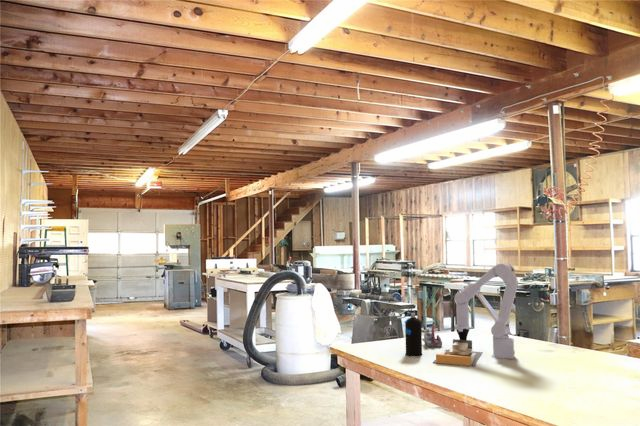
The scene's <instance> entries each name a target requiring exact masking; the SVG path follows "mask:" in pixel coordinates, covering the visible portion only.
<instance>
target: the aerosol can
mask: <svg viewBox="0 0 640 426" xmlns="http://www.w3.org/2000/svg"><path fill="white" fill-rule="evenodd" d="M422 323H423V322H422V321H421V320H420V319H419V318H417V317H416V312H411V313H410V317H408V318H407V319H406V320H405V321H404V324H405V330H404V331H405V356H407V357H412V356H414V357H421V356H424V355H423V347H422V346H423V343H422V342H423V340H422V339H423V338H422V337H423V335H422V332H423V331H422Z"/></svg>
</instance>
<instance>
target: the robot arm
mask: <svg viewBox="0 0 640 426" xmlns="http://www.w3.org/2000/svg"><path fill="white" fill-rule="evenodd" d="M493 278H500V279H501V280H502V281H503V282H504V284H505V288H504V292H503V295H502V299H501V304H500V307H499V312H498V315H497V318H496V320H495V322H494V324H493V325H492V326H491V328H490V330H491V335H492V343H493V344H492V353H493V354H492V355H491V358H496V359H497V358H499V359H509V360H513V359H514V357H515V355H516V353H515V352H516V351H515V342H514V341H515V340H514V338H510V335H509V333H510V329H511V328H510V321H511V320H510V316H511V313H512V309H513V305H514V301H515V296H516V294H517V290H518V285H519V281H518V278H517V275H516V269H515V268H514V267H513V265H511V264H510V263H508V262H504V263H498V264H496V265H495V266H493V267H492V268H490V269H489V270H488V271H487V272H485V273H484V274H483V275H482V276H481V277H480V278H479V279H478V280H477V281H471V282H468V283H467V285H466V287H464V288H461V289H460V291H459V292H456V293H455V295H454V298H453V299H454V301H455V303H456V304H455V305H456V307H455V309H456V310H455V311H456V324H454V327H455V328H457V329H456V333H457V335H458V338H459V340H468V334H469V332H470V325H469V324H470V323H469V322H470V321H469V302H470V299H472V298H473V297H475V296H476V295H477V294H478V293H479V292H481V287H483V286H484V285H485V284H487V283H488V282H489V281H491V280H492V279H493Z"/></svg>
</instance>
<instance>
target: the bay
mask: <svg viewBox="0 0 640 426" xmlns="http://www.w3.org/2000/svg"><path fill="white" fill-rule="evenodd" d="M447 349H448V348H447ZM447 349H445V350H442V352H441V353H436V354H435V360H433V362H432V364H438V363H439V364H441V365H449V364H452V365H451V366H460V365H463V367H471V366H472V367H473V368H474V367H476V365H477V363H478V361H479V359H480V358H481V357H482V354H483V353H484V352H483V351H473V350H472V351H471V353H470V354H469V355H468V356H465V355H459V354H453V355H450V354H449V351H450V350H451V349H448V350H447Z"/></svg>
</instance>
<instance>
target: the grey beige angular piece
mask: <svg viewBox="0 0 640 426" xmlns="http://www.w3.org/2000/svg"><path fill="white" fill-rule="evenodd" d="M451 347H452V348H450V349H449V350H450V351H449V354H450V355H453V354H459V355H465V356H468V355H469V354H470V353H471V351H473V340H470V339H467V340H460V339H454V338H453V339H452V346H451Z"/></svg>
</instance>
